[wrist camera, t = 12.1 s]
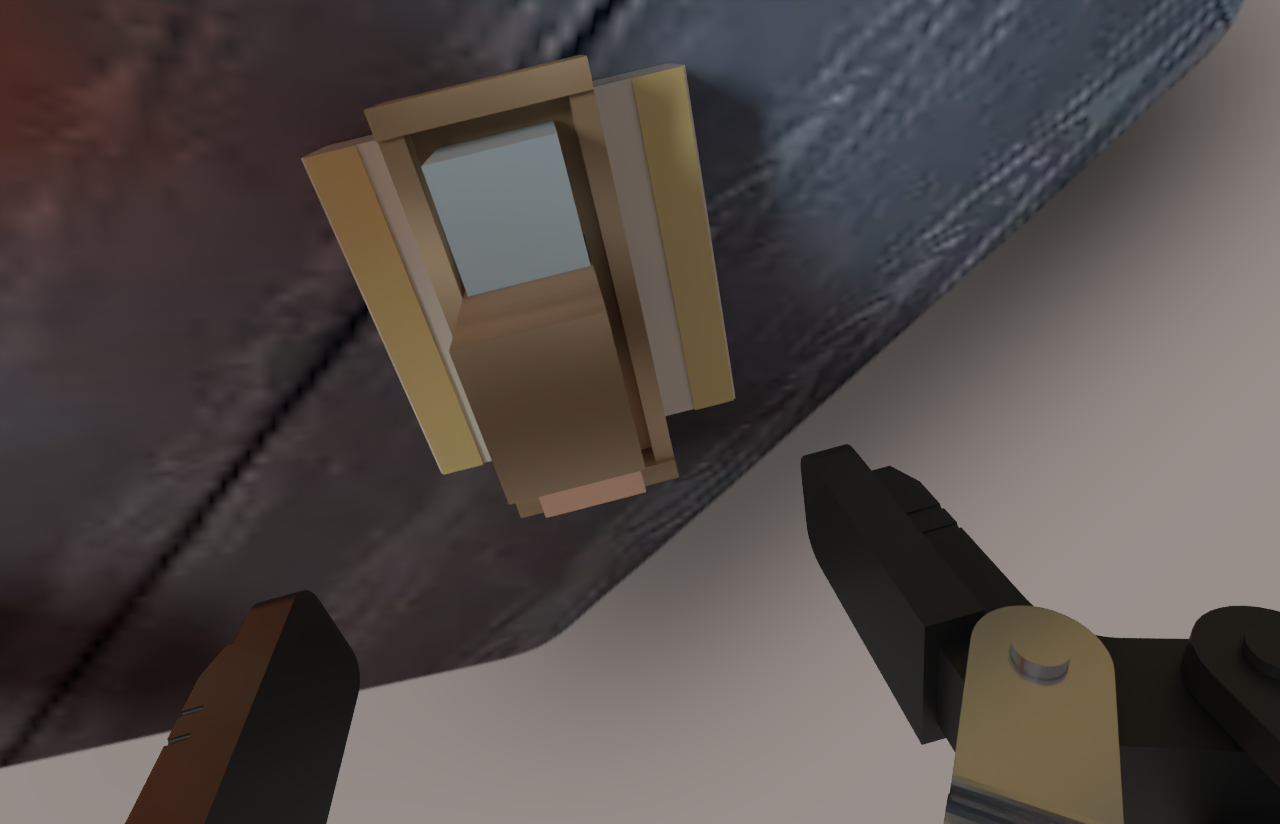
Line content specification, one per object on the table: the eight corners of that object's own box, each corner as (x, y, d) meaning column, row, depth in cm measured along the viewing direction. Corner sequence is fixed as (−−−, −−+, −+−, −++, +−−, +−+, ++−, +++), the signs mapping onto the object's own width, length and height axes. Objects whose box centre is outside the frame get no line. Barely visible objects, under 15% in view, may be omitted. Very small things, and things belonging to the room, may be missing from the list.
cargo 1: (437, 147, 19) (421, 166, 16) (552, 119, 19) (557, 133, 16) (476, 260, 21) (468, 296, 18) (581, 234, 21) (590, 265, 18)
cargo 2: (517, 382, 23) (515, 432, 20) (612, 358, 23) (624, 404, 20) (544, 461, 24) (545, 517, 22) (632, 438, 25) (646, 492, 22)
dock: (327, 145, 22) (299, 159, 20) (667, 62, 23) (685, 65, 20) (449, 434, 28) (441, 475, 26) (716, 366, 29) (736, 399, 26)
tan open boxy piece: (383, 102, 19) (294, 136, 12) (580, 54, 20) (610, 59, 12) (521, 476, 26) (519, 642, 19) (665, 439, 27) (718, 589, 19)
